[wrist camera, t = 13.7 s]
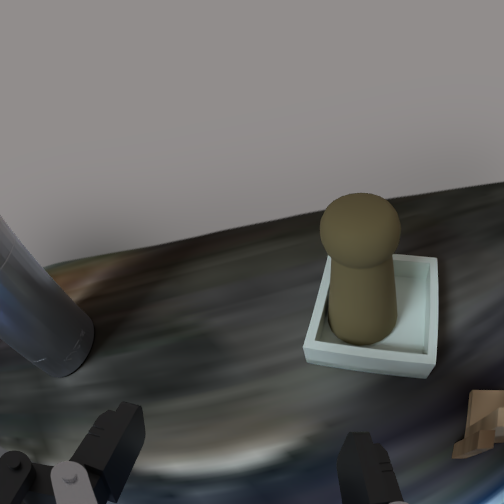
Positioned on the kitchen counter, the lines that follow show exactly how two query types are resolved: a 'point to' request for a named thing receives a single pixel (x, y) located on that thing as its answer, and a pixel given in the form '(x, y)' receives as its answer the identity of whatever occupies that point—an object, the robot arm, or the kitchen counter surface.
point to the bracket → (482, 423)
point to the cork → (361, 267)
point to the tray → (401, 337)
